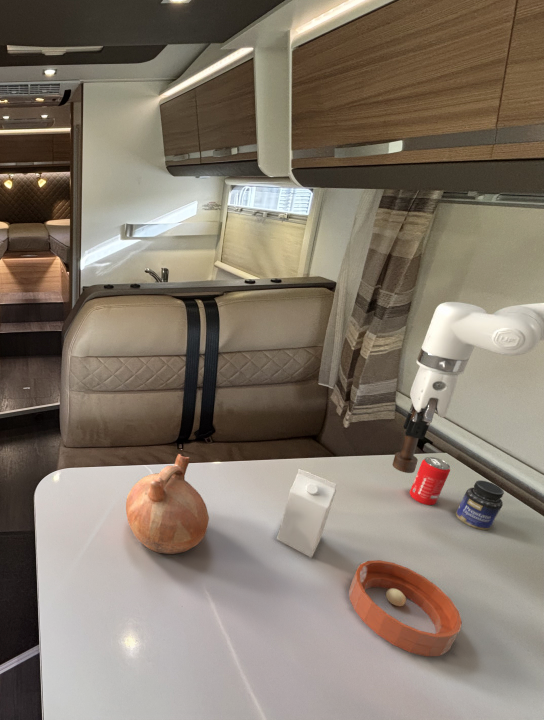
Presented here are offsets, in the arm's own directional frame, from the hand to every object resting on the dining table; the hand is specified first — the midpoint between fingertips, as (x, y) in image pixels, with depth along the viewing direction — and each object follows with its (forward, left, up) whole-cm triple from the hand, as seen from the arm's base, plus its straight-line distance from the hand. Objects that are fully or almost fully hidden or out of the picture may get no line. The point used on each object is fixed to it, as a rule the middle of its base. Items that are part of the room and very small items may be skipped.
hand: (413, 432), depth 97 cm
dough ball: (0, +28, -22) cm, 36 cm away
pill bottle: (-18, -8, -25) cm, 32 cm away
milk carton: (+17, +21, -25) cm, 36 cm away
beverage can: (-9, -11, -25) cm, 29 cm away
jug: (+44, +36, -24) cm, 62 cm away
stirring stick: (-1, 0, -10) cm, 10 cm away
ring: (0, +31, -24) cm, 39 cm away
